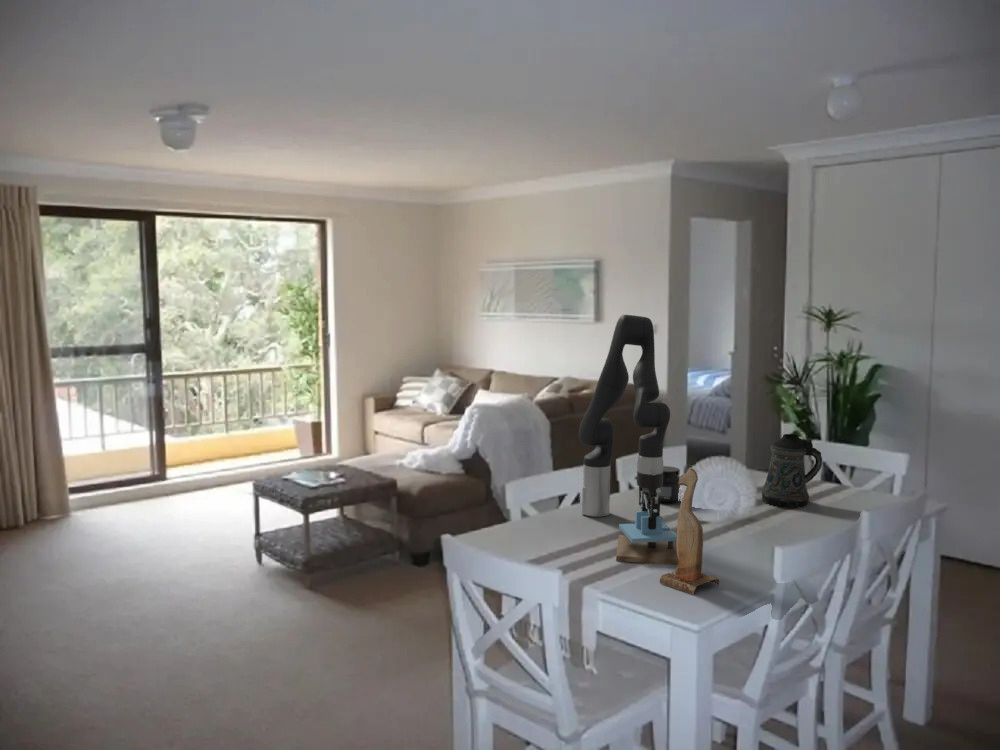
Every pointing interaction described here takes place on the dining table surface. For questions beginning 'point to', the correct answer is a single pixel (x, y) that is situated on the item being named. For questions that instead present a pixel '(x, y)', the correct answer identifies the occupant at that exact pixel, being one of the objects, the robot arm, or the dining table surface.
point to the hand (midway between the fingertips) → (648, 525)
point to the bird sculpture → (688, 543)
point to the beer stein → (789, 472)
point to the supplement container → (669, 485)
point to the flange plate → (647, 530)
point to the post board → (647, 551)
